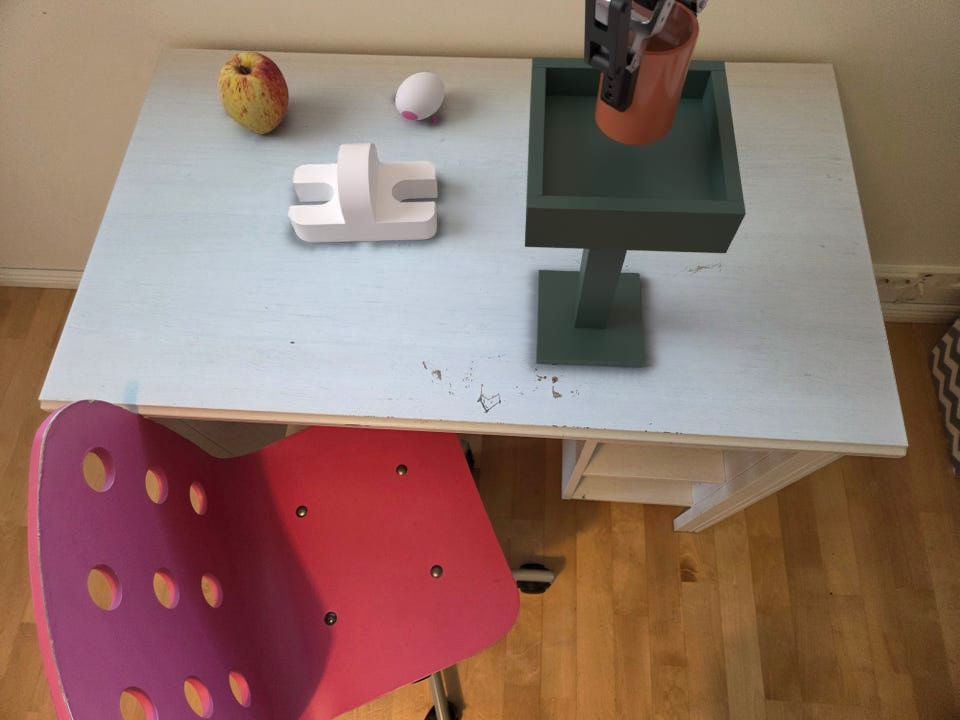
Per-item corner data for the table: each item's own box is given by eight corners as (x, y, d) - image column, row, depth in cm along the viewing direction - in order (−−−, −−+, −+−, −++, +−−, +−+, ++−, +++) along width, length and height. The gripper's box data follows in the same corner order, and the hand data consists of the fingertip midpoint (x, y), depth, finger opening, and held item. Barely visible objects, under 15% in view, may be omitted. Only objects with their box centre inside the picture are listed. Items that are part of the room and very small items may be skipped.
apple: (307, 131, 96) (287, 72, 87) (246, 155, 94) (219, 98, 85) (283, 90, 100) (262, 29, 91) (224, 113, 98) (196, 53, 89)
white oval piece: (431, 109, 101) (409, 66, 98) (464, 105, 95) (442, 59, 92) (395, 138, 99) (371, 95, 95) (427, 135, 93) (403, 89, 89)
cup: (654, 80, 55) (676, -14, 48) (686, 134, 52) (715, 43, 45) (583, 99, 54) (595, 6, 47) (612, 154, 52) (629, 64, 44)
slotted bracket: (294, 243, 87) (271, 191, 79) (302, 183, 92) (281, 128, 83) (436, 239, 87) (429, 186, 78) (437, 179, 91) (431, 123, 82)
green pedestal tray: (653, 265, 84) (724, 60, 57) (661, 384, 77) (746, 213, 50) (522, 260, 85) (532, 56, 58) (517, 378, 78) (526, 207, 51)
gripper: (681, -96, 32) (624, 163, 47) (842, -224, 36) (743, 50, 51) (554, -154, 34) (539, 110, 49) (720, -267, 38) (659, 6, 53)
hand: (643, 78), depth 50 cm, fingers closed on cup, 6 cm apart
